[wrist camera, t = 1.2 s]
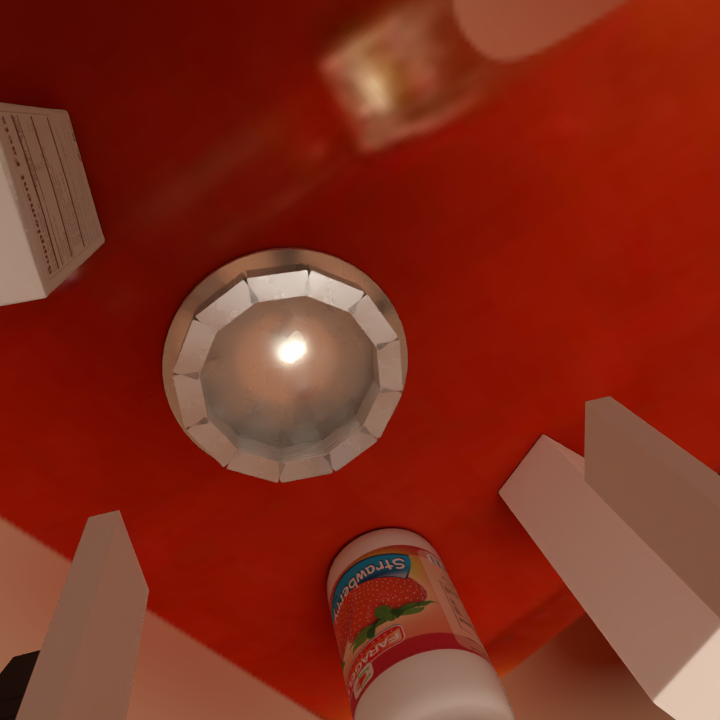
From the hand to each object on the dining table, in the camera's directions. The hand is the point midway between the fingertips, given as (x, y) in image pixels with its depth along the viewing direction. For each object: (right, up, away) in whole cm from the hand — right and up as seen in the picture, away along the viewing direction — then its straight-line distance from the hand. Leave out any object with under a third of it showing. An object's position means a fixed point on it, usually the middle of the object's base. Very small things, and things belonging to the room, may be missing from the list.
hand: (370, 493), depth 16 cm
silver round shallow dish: (-5, +3, +23) cm, 24 cm away
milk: (+15, -6, +31) cm, 35 cm away
